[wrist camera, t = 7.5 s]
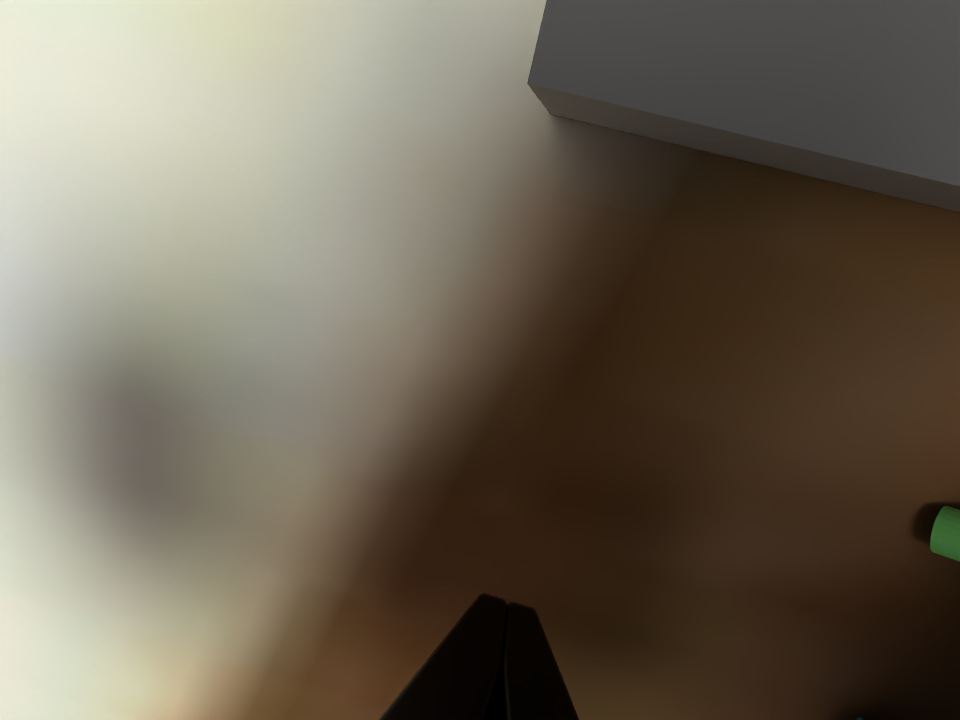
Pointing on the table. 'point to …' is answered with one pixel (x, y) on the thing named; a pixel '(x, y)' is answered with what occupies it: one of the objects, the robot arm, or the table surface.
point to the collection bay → (770, 83)
